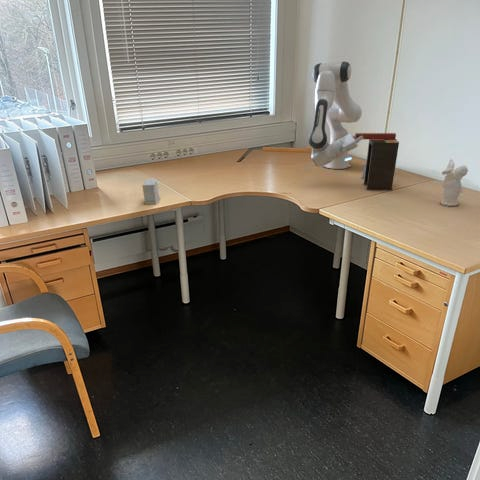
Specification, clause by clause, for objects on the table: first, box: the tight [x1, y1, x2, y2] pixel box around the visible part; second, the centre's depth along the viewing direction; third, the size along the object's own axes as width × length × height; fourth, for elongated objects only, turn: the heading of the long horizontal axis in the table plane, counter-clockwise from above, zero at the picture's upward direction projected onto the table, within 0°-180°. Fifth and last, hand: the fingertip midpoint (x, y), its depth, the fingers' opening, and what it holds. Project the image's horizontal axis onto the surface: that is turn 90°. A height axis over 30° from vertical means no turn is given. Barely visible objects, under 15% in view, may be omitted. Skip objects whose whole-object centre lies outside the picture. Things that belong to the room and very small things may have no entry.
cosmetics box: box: [142, 179, 160, 205], centre depth 260 cm, size 10×6×10 cm, turn 178°
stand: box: [363, 138, 400, 191], centre depth 272 cm, size 12×14×26 cm
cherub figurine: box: [440, 158, 469, 207], centre depth 246 cm, size 12×12×22 cm
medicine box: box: [361, 163, 366, 180], centre depth 291 cm, size 8×4×9 cm, turn 47°
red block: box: [354, 132, 397, 140], centre depth 267 cm, size 3×22×3 cm, turn 86°
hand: (362, 135), depth 268 cm, fingers open, 5 cm apart
